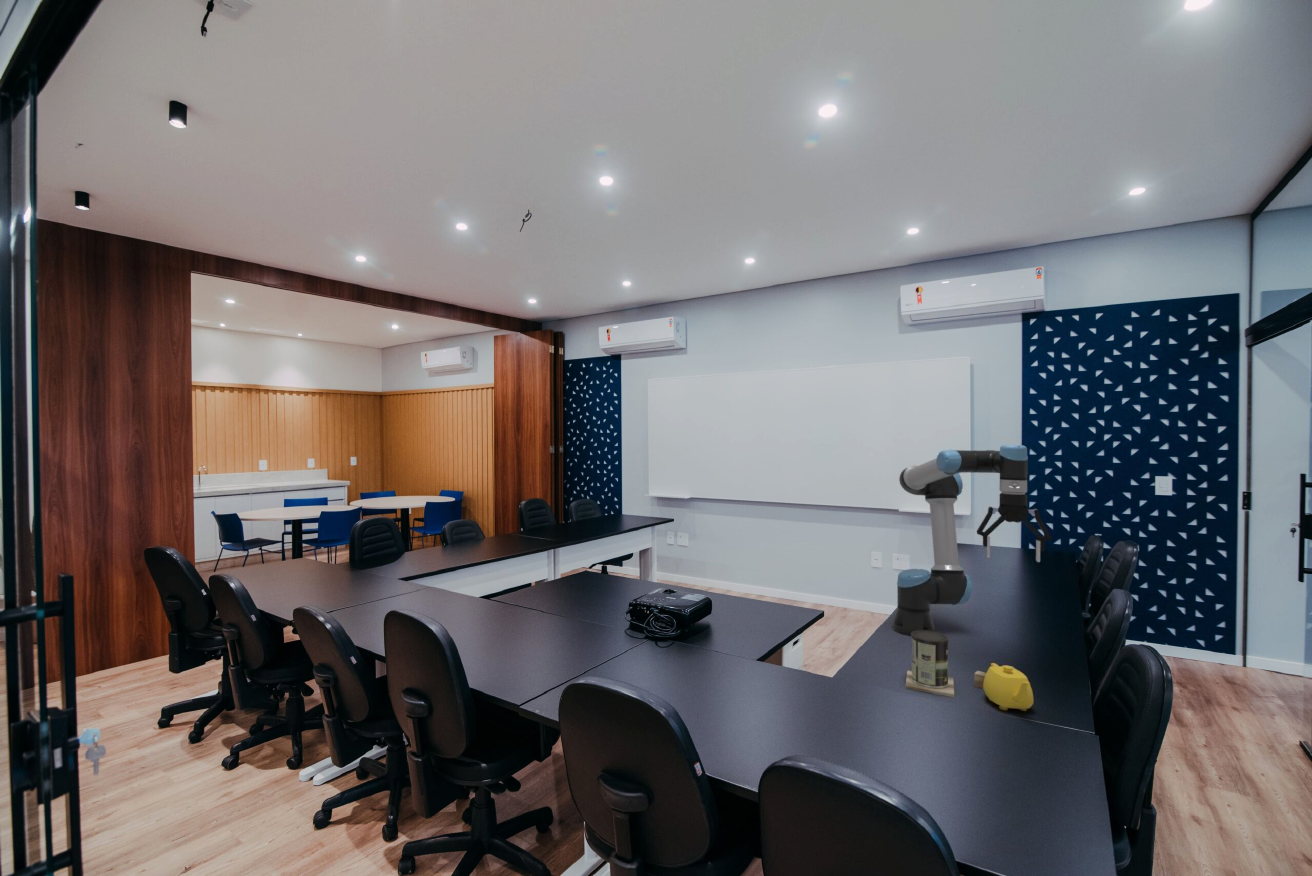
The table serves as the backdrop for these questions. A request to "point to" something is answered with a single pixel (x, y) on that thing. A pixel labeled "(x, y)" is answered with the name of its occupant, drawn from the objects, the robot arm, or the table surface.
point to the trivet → (943, 691)
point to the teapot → (1008, 688)
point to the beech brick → (979, 679)
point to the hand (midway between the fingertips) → (1012, 559)
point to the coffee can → (930, 659)
